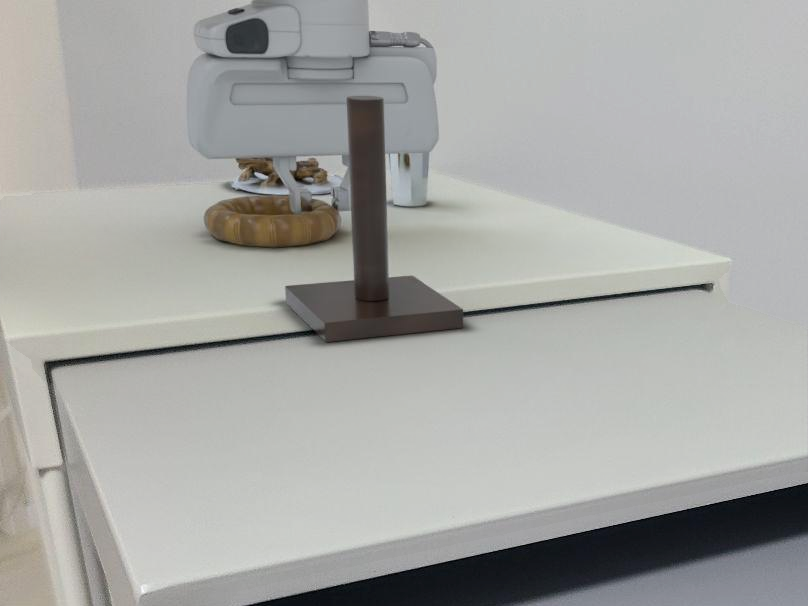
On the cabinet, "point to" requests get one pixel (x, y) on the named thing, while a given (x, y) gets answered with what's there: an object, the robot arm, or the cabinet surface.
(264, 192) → the frog figurine
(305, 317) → the post
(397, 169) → the milkshake
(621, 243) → the cabinet surface
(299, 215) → the ring
